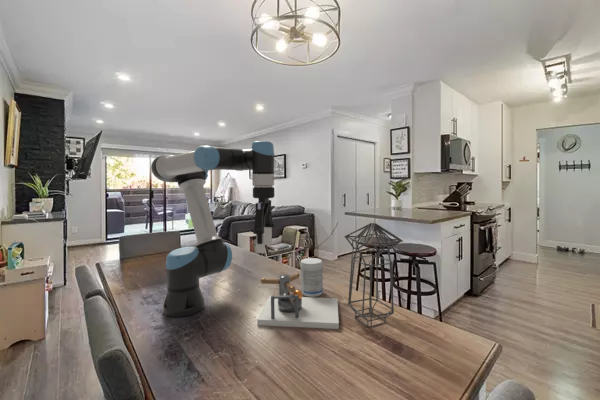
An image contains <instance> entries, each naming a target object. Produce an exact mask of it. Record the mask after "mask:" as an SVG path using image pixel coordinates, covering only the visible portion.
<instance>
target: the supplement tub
mask: <svg viewBox="0 0 600 400" xmlns="http://www.w3.org/2000/svg"><path fill="white" fill-rule="evenodd" d="M323 279H324V278H323V260H322V259H320V258H314V257H309V258H303V259H301V260H300V291H301V292H302V296H303V297H313V298H318V297H319V296H320V297H321V295H322V294H323V292H324V289H323V287H324V286H323V283H324V282H323Z"/></svg>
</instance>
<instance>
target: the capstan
mask: <svg viewBox="0 0 600 400" xmlns="http://www.w3.org/2000/svg"><path fill="white" fill-rule="evenodd" d="M300 277H301V274H299V272H296V273H294V274H292V275H289V274H280V275H279V277H278V278H263V277H262V278H261V279H260V283H261V284H263V285H264V284H266V285H267V284H268V285H269V284H270V285H273V284H274V285H278V296H284V294H285V293H286V295H298V296H299V310H300V309H301V308H302V297H303V294H302V292H301V289H296V287H295V286H294V285H293V284H292V283H291V282H293V281H295V280H298V279H299V278H300ZM290 292H291V293H290ZM278 309H279V310H280V311H282V312H288V313H291V312H295V298H281V299H278Z"/></svg>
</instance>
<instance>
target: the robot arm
mask: <svg viewBox="0 0 600 400" xmlns="http://www.w3.org/2000/svg"><path fill="white" fill-rule="evenodd" d="M150 168H151V172H152V174H153V176H154V177H155V178H156V179H158V180H160V181H162V182H165V183H177V184H178V188H179V189H180V190H182V191H183V193H184V197H185V201H186V204H187V205H186V206H187V209H188V212H189V216H190V219H191V223H192V227H193V231H194V233H195V238H196V243H195V245H194V246H192V245H190V246H186V247H185V246H183V247H180V248H176V249H173V250H172V251H170V252H169V253H168V254H167V255H166V258H165V259H166V260H165V268H166V269H165V272H166V287H167V288H166V289H167V293H166V295H165V298H164V302H163V305H162V313H163V315H164V316H166V317H169V318H170V317H171V318H183V317H188V316H192V315H194V314H196V313H197V314H198V313H199V312H201V311H202V310H203V309H204V308H205V306H206V305H205V298H204V295H203V293H202V292H203V291H202V290H201V288H200V287H201V286H200V279H201V278H205V277H208V276H211V275H214V274H220V273H221V272H223V271H227V269H228V268H230V267H231V264H232V262H233V251H232V248H231V246H230V245H229V243H226V242H224V241H223V238H222V237H220V236H219V235H218V233H217V229H216V226H215V223H214V222H215V221H214V219H213V216H212V212H211V208H210V206H209V202H208V197H207V194H206V189H205V188H204V185H205V184H206V180H207V179H208V176H209V174H208V173H209V171H214V170H215V171H216V170H217V171H219V170H220V171H221V170H223V171H224V170H227V171H238V172H239V171H243V172H244V171H251V170H252V172H251V173H252V178H251V179H252V182H251V183H252V186H253V187H252V197H253V199H258V202H256V203H255V213H254V227H253V233H252V234H253V235H255V247H256V249H255V250H256V251H255V252H256V253H255V254H265V253H266V246H272V245H273V237H272V236H273V233H272V230H273V229H272V228H274V226H275V224H274V222H273V213H272V212H273V210H272V199H274V198H275V188H274V186H275V180H276V179H277V178H276V176H275V149H274V143H273V142H271V141H266V140H265V141H264V140H257V141H256V140H255V141H254V142H253V141H252V143H251V147H250V148H244V149H243V148H234V147H233V148H231V147H220V146H213V145H200V146H197V148H196V149H195V150H193V151H189V152H183V153H180V154H175V155H173V154H171V155H170V154H164V155H159V156H157V157H156V158H154V159H153V160H152V162H151V167H150Z"/></svg>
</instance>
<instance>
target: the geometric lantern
mask: <svg viewBox="0 0 600 400" xmlns="http://www.w3.org/2000/svg"><path fill="white" fill-rule="evenodd" d="M359 231H360V232H359ZM357 232H359V233H358V234H357V235H353V234H355V233H357ZM388 235H389V236H388ZM374 236H375V238H376V241H374ZM390 236H391V237H393V238H391V237H390ZM343 238H345V239H346V241H348V243H349V245H350V246H351V247H352V250H351V251H352V253H351V259H350V260H351V261H350V272H349V273H350V274H349V275H350V276H349V286H348V287H349V288H348V299H347V305H348V307H350V309H351V310H352V311H353V312H354V314H355V315H354V319H355V321H358V322H359V323H360V324H362V325H363V326H366V327H367V328H373V327H377V326H380V325H383V324H386V323H387V321H386V318H388V317H390V316H392V315H393V314H394V313H395V310H394V264H393V263H394V261H393V260H392V259H391V252H390V250H391V249H393V248H394V247H396V246H397V245H399V244H401V243H403V241H404V240H403V239H401V238H400V237H399V236H397V235H395V234H393V233H392V232H391V231H388V230H387V229H386V228H384V227H383V226H381V225H379V224H378V223H376V222H369V223H368V224H366V225H364V226H362V227H360V228H358V229H356V230H354V231H351V232H350V233H348V234H346V235H344V237H343ZM362 238H364V241H361V239H362ZM350 240H351V241H350ZM370 240H371V242H370V243H368V242H369V241H370ZM380 241H381V242H380ZM354 243H355V246H354ZM359 245H360V246H359ZM367 245H368V246H369V245H370V246H371V245H372V247H373V248H374V249H375V250H376V251H377V252H376V254H375V255H374V254H373V253H372V251H371V250H370V249H369V247H368V246H367ZM376 245H378V246H379V248H380V249H379V248H378V247H377V246H376ZM364 246H365V247H366V249H367V250H368V252H369V253H370V255H363V254H362V252H361V248H363V247H364ZM386 247H387V248H386ZM385 248H386V249H385ZM384 249H385V250H384ZM354 250H355V251H354ZM357 252H358V254H359V256H356V254H357ZM386 252H387V255H388V259H387V258H385V257H382V256H380V255H381V254H382V253H386ZM353 255H354V256H353ZM367 257H371V260H370V261H369V263H366V260H365V259H364V258H367ZM358 258H359V259H360V258H361V260H362V261H363V262H362V261H360V260H357V259H358ZM375 258H376V263H375V264H374V259H375ZM379 258H380V259H381V260H385V261H388V262H389V263H388V262H387V263H386V262H385V263H379ZM356 262H358V263H360V264H361V265H364V269H363V270H364V271H363V284H362V285H363V290H362V292H363V293H362V299H357V300H353V301H352V292H353V284H354V283H353V281H354V274H355V273H354V272H355V263H356ZM385 265H388V266H389V279H390V280H389V281H390V282H389V283H390V302H391V306H389V305H387V304H386V303H384V302H382V301H380V300H379V266H385ZM367 266H368V267H369V294H368V295H369V298H365V294H366V293H365V292H366V276H367V275H366V274H367ZM375 266H376V291H375V292H376V296H375V297H376V298H373V297H372V283H373V269H374V267H375ZM365 301H369V302H368V303H369V307H367V308H365ZM372 301H375V302H374V304H372V303H373V302H372ZM359 302H362V308H361V309H359V310H358V309H356V308H355V307H354V306H353V305H352V303H359ZM377 302H378V303H379V304H381V305H382V306H385V307H387V308H388V309H390V311H388V312H385V313H383V312H381V311H379V310H377V309H375V306H376V304H377ZM372 305H373V306H372ZM365 310H368V312H364V311H365ZM374 311H375V312H377V313H378V314H376V313H374ZM368 314H369V315H368ZM358 317H361V318H362V319H364V320H366V322H367V323H366V324H365V323H364V322H363V321H362V320H361V319H359V318H358ZM376 317H377V318H376ZM368 318H370V319H368ZM372 318H374V319H372ZM377 320H378V321H379V320H382V321H383V322H380V323H377V324H373V325H372V323H373V321H377ZM369 322H370V326H369Z"/></svg>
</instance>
